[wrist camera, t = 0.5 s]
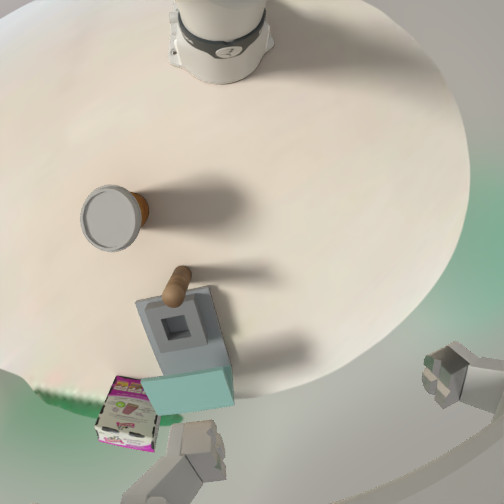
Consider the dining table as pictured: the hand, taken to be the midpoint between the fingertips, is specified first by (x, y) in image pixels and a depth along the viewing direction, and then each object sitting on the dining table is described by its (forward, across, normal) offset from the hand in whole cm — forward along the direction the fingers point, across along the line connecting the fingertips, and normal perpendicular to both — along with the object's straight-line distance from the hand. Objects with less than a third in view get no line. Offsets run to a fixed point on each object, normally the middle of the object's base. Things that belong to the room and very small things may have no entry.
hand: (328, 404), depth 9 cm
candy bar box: (+43, +30, +29) cm, 60 cm away
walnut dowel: (+43, +12, +6) cm, 45 cm away
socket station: (+43, +16, +18) cm, 49 cm away
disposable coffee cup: (+43, +18, -7) cm, 47 cm away
